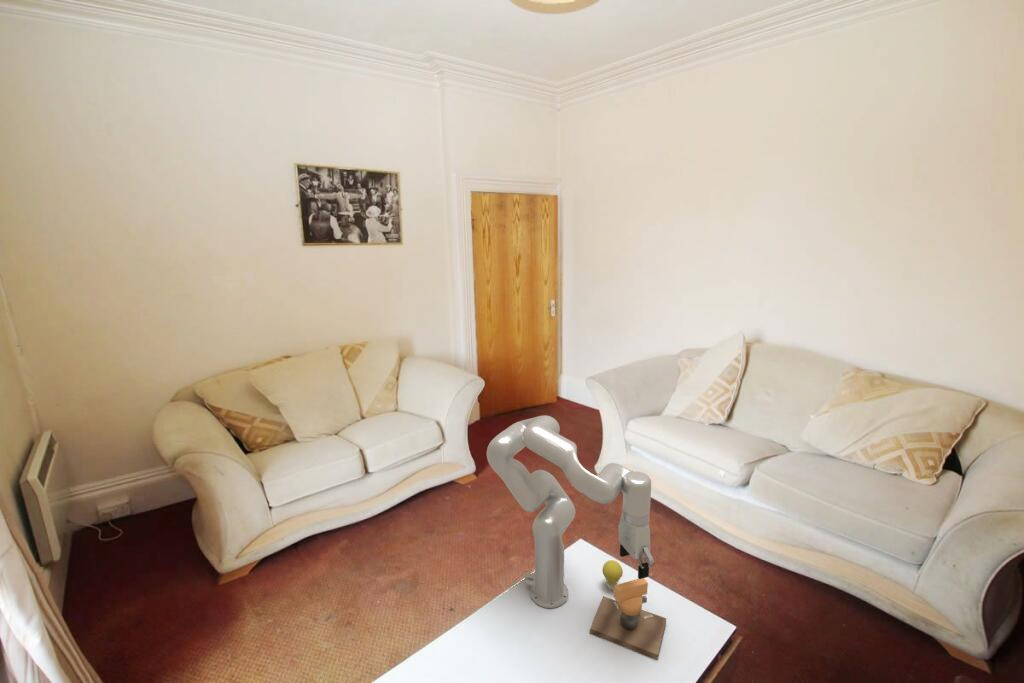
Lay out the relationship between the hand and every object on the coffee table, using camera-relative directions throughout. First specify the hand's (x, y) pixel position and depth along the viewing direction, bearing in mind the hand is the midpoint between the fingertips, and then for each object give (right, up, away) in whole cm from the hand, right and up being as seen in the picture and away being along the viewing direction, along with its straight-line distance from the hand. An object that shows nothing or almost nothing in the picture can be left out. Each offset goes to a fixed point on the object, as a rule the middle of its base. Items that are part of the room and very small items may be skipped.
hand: (633, 566), depth 138 cm
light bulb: (-2, -18, +22) cm, 29 cm away
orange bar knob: (0, -14, +4) cm, 15 cm away
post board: (0, -22, +6) cm, 23 cm away
